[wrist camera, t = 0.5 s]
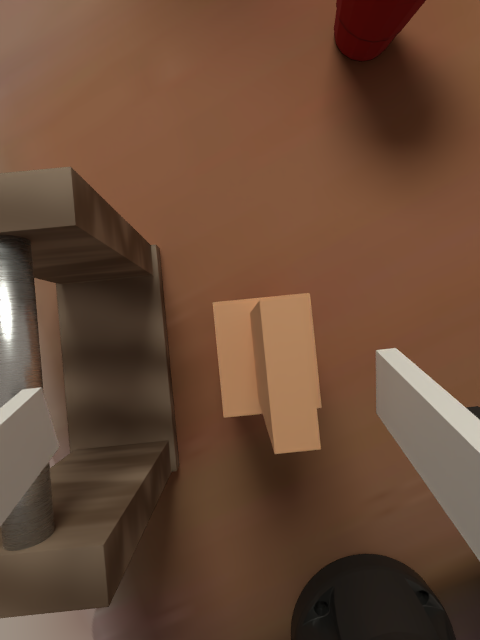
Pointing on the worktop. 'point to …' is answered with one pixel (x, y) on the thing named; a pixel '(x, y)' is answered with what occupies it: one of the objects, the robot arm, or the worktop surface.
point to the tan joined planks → (271, 367)
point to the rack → (83, 390)
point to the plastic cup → (370, 25)
